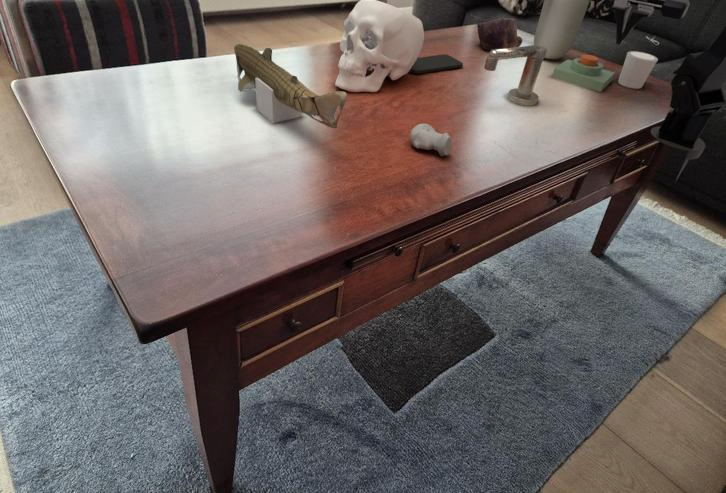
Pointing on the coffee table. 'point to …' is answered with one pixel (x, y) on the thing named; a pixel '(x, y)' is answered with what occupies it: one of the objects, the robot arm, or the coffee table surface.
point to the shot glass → (636, 69)
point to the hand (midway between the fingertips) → (618, 44)
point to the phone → (435, 64)
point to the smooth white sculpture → (430, 139)
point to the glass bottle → (559, 26)
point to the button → (589, 60)
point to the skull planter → (377, 45)
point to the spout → (513, 54)
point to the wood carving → (283, 90)
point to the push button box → (583, 74)
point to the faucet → (527, 83)
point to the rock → (498, 34)
